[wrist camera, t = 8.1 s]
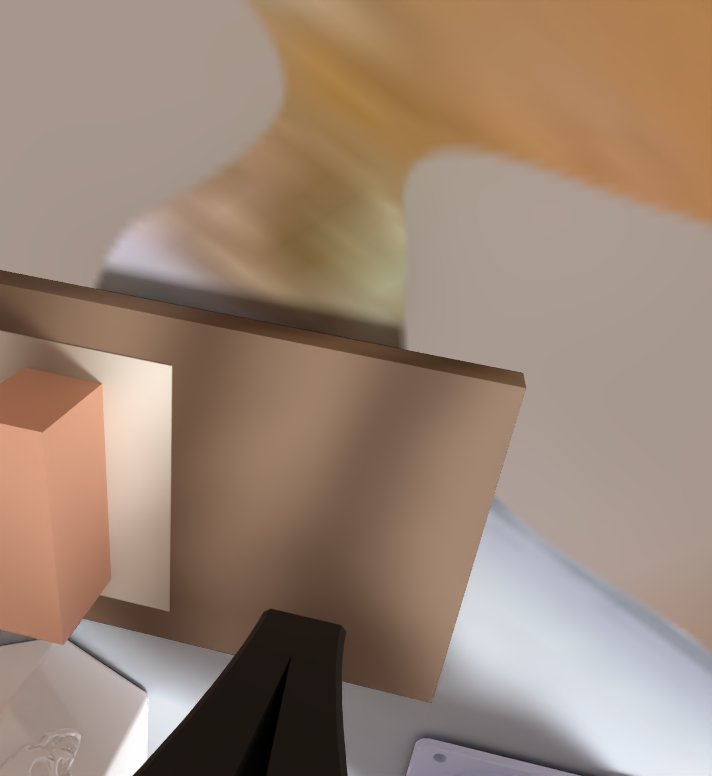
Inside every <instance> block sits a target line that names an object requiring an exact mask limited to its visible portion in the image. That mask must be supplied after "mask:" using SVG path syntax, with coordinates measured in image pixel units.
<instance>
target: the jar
mask: <svg viewBox="0 0 712 776" xmlns="http://www.w3.org/2000/svg"><path fill="white" fill-rule="evenodd" d="M147 744H148V695H147V693H146V692H144V691H143V690H141V689H140V688H138V687H137V686H135V685H134V684H132V683H131V682H129V681H128V680H126V679H125V678H123V677H122V676H120V675H119V674H117V673H116V672H114V671H113V670H111V669H110V668H108V667H107V666H105V665H104V664H102V663H101V662H99V661H98V660H96V659H95V658H93V657H92V656H90V655H89V654H88V653H86V652H85V651H83V650H82V649H80V648H79V647H77V646H76V645H74V644H73V643H71V642H70V641H68V640H67V641H66V642H65V644H64V645H60V644H56V643H52V642H48V641H44V640H40V639H39V640H33V641H27V642H22V643H16V644H10V645H4V646H0V776H132V775H133V774H134V773H135V772H136V771H137V770H138V769H139V768H140V767H141V766H142V765H143V764H144V763H145V762H146V761H147Z"/></svg>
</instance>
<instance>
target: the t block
mask: <svg viewBox="0 0 712 776" xmlns="http://www.w3.org/2000/svg"><path fill="white" fill-rule="evenodd" d="M110 580H111V564H110V543H109V521H108V499H107V477H106V455H105V433H104V412H103V390H102V384H101V383H96V382H92V381H87V380H82V379H77V378H73V377H68V376H63V375H58V374H54V373H49V372H44V371H40V370H35V369H30V368H24V369H22V370H21V371H19V372H17V373H16V374H14V375H13V376H11V377H10V378H8V379H6V380H5V381H3V382H2V383H0V630H4V631H8V632H12V633H16V634H20V635H24V636H28V637H32V638H36V639H40V640H44V641H48V642H52V643H56V644H60V645H64V644H65V642H66V641H67V640H68V638H69V637H70V636H71V634H72V633H73V631H74V630H75V629H76V627H77V626H78V624H79V623H80V622H81V620H82V619H83V618H84V616H85V615H86V613H87V612H88V611H89V609H90V608H91V606H92V605H93V604H94V602H95V601H96V600H97V598H98V597H99V595H100V594H101V593H102V591H103V590H104V589H105V587H106V586H107V584H108V583H109V582H110Z"/></svg>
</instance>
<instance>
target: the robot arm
mask: <svg viewBox="0 0 712 776" xmlns="http://www.w3.org/2000/svg"><path fill="white" fill-rule="evenodd" d="M345 637H346V630H345V629H344V628H343V627H342V626H341V625H339V624H335V623H330V622H326V621H322V620H318V619H313V618H309V617H305V616H301V615H296V614H292V613H288V612H284V611H279V610H275V609H271V608H270V609H268V610H266V611H264V612H263V614H262V615H261V617H260V619H259V620H258V622H257V624H256V625H255V627H254V628H253V630H252V631H251V633H250V634H249V636H248V637H247V639H246V640H245V642H244V643H243V645H242V646H241V648H240V649H239V650H238V652H237V653H236V655H235V656H234V657H233V659H232V660H231V661H230V663H229V664H228V665H227V667H226V668H225V669H224V671H223V672H222V673H221V675H220V676H219V677H218V678H217V680H216V681H215V682H214V683H213V684H212V686H211V687H210V688H209V689H208V691H207V692H206V693H205V694H204V696H203V697H202V698H201V699H200V700H199V702H198V703H197V704H196V705H195V707H194V708H193V709H192V710H191V711H190V713H189V714H188V715H187V716H186V717H185V719H184V720H183V721H182V722H181V723H180V724H179V725H178V726H177V728H176V729H175V730H174V731H173V732H172V733H171V734H170V735H169V736H168V738H167V739H166V740H165V741H164V742H163V743H162V744H161V745H160V746H159V747H158V749H157V750H156V751H155V752H154V753H153V754H152V755H151V756H150V757H149V759H148V760H147V761H146V762H145V763H144V764H143V765H142V766H141V767H140V768H139V769H138V770H137V771H136V772H135V773H134V774H133V775H132V776H348V775H347V766H346V754H345V742H344V730H343V713H342V662H343V650H344V642H345ZM406 776H580V775H576V774H572V773H568V772H564V771H560V770H556V769H552V768H548V767H544V766H540V765H536V764H531V763H527V762H523V761H519V760H515V759H511V758H507V757H503V756H499V755H495V754H491V753H487V752H483V751H479V750H475V749H471V748H467V747H463V746H459V745H455V744H450V743H446V742H442V741H438V740H434V739H430V738H422V739H420V740H418V741H417V742H416V744H415V747H414V750H413V754H412V757H411V760H410V764H409V767H408V770H407V774H406Z"/></svg>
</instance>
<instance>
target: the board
mask: <svg viewBox="0 0 712 776" xmlns="http://www.w3.org/2000/svg"><path fill="white" fill-rule="evenodd" d="M24 368H30V369H35V370H40V371H44V372H49V373H54V374H58V375H63V376H68V377H73V378H77V379H82V380H87V381H92V382H96V383H101V384H102V390H103V412H104V433H105V455H106V477H107V499H108V521H109V543H110V564H111V580H110V582H109V583H108V584H107V586H106V587H105V589H104V590H103V591H102V593H101V594H100V595H99V597H98V598H97V600H96V601H95V602H94V604H93V605H92V606H91V608H90V609H89V611H88V612H87V613H86V615H85V616H84V618H83V619H87V620H91V621H96V622H100V623H104V624H108V625H112V626H116V627H120V628H124V629H129V630H133V631H137V632H141V633H145V634H149V635H153V636H157V637H162V638H166V639H170V640H174V641H178V642H182V643H186V644H190V645H195V646H199V647H203V648H207V649H211V650H215V651H219V652H224V653H228V654H232V655H236V653H237V652H238V650H239V649H240V648H241V646H242V645H243V643H244V642H245V640H246V639H247V637H248V636H249V634H250V633H251V631H252V630H253V628H254V627H255V625H256V624H257V622H258V620H259V619H260V617H261V615H262V614H263V612H264V611H266V610H268V609H270V608H271V609H275V610H279V611H284V612H288V613H292V614H296V615H301V616H305V617H309V618H313V619H318V620H322V621H326V622H330V623H335V624H339V625H341V626H342V627H343V628H344V629H345V630H346V637H345V642H344V650H343V662H342V681H343V682H347V683H351V684H356V685H360V686H364V687H368V688H372V689H376V690H380V691H385V692H389V693H393V694H397V695H401V696H405V697H409V698H413V699H418V700H422V701H426V702H430V703H432V700H433V697H434V693H435V690H436V687H437V683H438V680H439V677H440V673H441V670H442V667H443V663H444V660H445V657H446V653H447V650H448V647H449V643H450V640H451V637H452V633H453V630H454V627H455V623H456V620H457V617H458V613H459V610H460V607H461V603H462V600H463V597H464V593H465V590H466V587H467V583H468V580H469V577H470V573H471V570H472V567H473V563H474V560H475V557H476V553H477V550H478V547H479V543H480V540H481V537H482V533H483V530H484V527H485V523H486V520H487V517H488V513H489V510H490V507H491V503H492V500H493V497H494V493H495V490H496V487H497V483H498V480H499V477H500V473H501V470H502V467H503V463H504V460H505V456H506V453H507V450H508V446H509V443H510V440H511V437H512V433H513V430H514V427H515V423H516V420H517V416H518V413H519V410H520V406H521V403H522V400H523V397H524V393H525V390H526V385H525V380H524V375H523V373H521V372H515V371H510V370H505V369H500V368H495V367H490V366H485V365H479V364H474V363H470V362H465V361H460V360H454V359H449V358H444V357H439V356H434V355H429V354H424V353H419V352H413V351H409V350H404V349H399V348H393V347H388V346H383V345H378V344H373V343H368V342H363V341H358V340H353V339H348V338H343V337H338V336H332V335H327V334H322V333H317V332H312V331H307V330H302V329H297V328H292V327H287V326H282V325H277V324H272V323H266V322H261V321H256V320H251V319H246V318H241V317H236V316H231V315H226V314H221V313H216V312H211V311H205V310H200V309H195V308H190V307H185V306H180V305H175V304H170V303H165V302H160V301H155V300H150V299H144V298H139V297H134V296H129V295H124V294H119V293H114V292H109V291H104V290H99V289H94V288H89V287H83V286H78V285H73V284H68V283H63V282H58V281H53V280H48V279H42V278H37V277H33V276H28V275H22V274H17V273H12V272H7V271H2V270H0V383H2V382H3V381H5V380H6V379H8V378H10V377H11V376H13V375H14V374H16V373H17V372H19V371H21V370H22V369H24Z"/></svg>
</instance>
